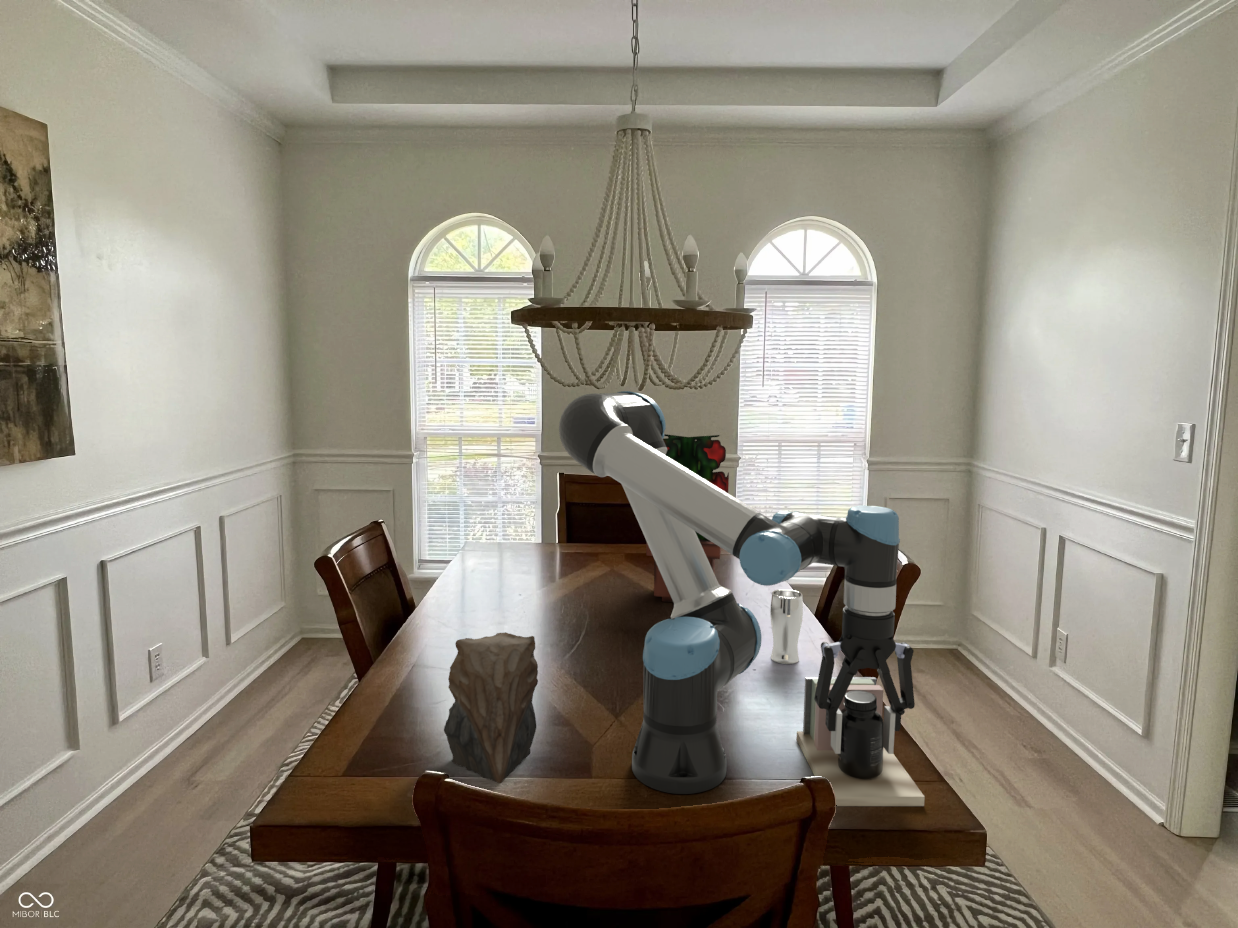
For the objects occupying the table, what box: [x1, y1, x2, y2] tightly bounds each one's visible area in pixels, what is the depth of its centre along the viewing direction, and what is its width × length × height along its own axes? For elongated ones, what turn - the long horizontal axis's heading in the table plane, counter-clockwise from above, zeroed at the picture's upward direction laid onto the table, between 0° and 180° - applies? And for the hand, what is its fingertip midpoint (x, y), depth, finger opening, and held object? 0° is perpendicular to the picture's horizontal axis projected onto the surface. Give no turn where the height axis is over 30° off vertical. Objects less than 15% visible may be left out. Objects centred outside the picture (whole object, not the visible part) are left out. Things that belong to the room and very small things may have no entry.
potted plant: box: [645, 433, 730, 603], centre depth 210 cm, size 22×22×45 cm
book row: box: [810, 679, 884, 750], centre depth 127 cm, size 5×10×10 cm, turn 91°
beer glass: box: [769, 588, 804, 665], centre depth 166 cm, size 7×7×15 cm
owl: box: [443, 632, 539, 784], centre depth 124 cm, size 13×13×20 cm
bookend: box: [802, 676, 878, 735], centre depth 130 cm, size 1×12×10 cm, turn 91°
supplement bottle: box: [838, 690, 884, 779], centre depth 118 cm, size 7×7×12 cm
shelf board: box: [796, 730, 926, 807], centre depth 121 cm, size 20×14×2 cm
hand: (861, 749), depth 118 cm, fingers open, 7 cm apart
